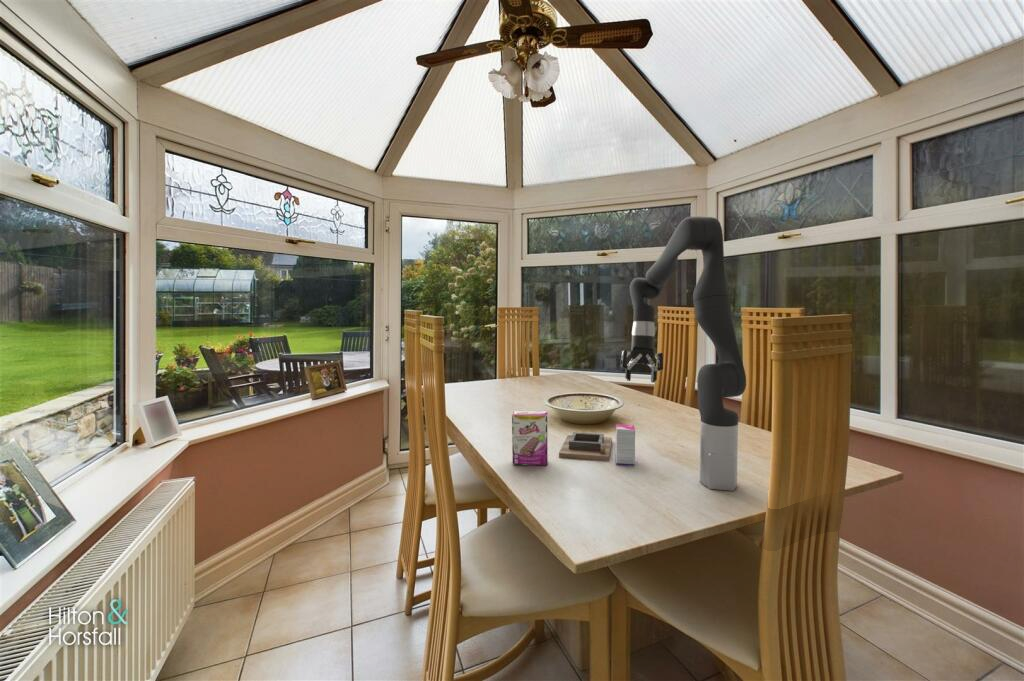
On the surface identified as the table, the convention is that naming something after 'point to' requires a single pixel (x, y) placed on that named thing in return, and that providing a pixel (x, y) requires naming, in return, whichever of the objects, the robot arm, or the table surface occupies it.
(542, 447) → the candy bar box
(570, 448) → the nest plate
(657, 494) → the table surface
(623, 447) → the supplement box
